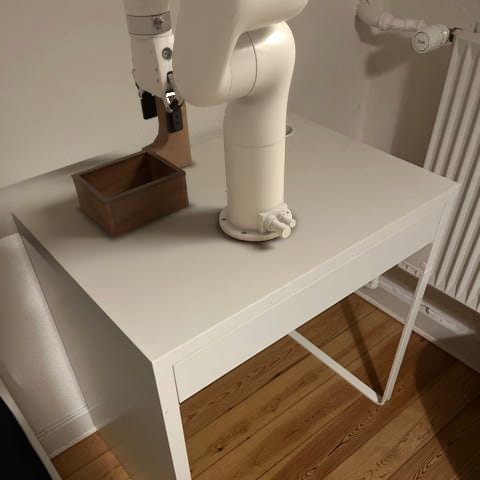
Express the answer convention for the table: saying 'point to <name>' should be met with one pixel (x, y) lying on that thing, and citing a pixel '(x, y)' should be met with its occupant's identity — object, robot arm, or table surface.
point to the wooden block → (171, 137)
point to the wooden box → (131, 191)
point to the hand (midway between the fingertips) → (163, 124)
